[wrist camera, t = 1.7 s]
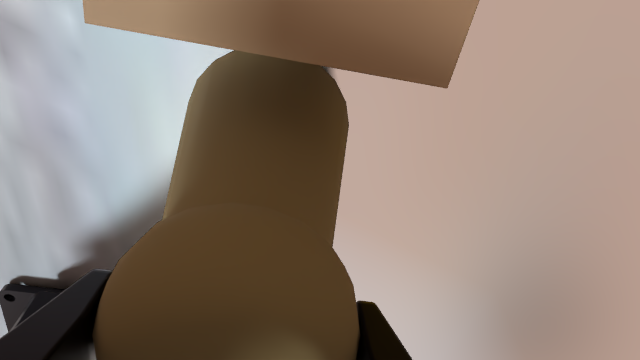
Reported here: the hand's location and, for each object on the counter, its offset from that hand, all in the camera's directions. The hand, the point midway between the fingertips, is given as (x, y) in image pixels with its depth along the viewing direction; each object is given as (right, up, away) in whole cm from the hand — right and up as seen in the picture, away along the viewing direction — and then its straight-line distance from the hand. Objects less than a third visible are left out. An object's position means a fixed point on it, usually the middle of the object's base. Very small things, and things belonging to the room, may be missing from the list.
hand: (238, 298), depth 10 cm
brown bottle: (0, +5, +7) cm, 9 cm away
